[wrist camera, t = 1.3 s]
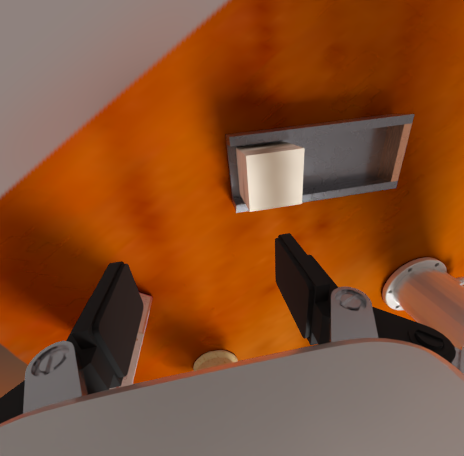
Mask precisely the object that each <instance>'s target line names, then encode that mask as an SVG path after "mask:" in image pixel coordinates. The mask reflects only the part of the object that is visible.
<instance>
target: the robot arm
mask: <svg viewBox="0 0 464 456" xmlns="http://www.w3.org/2000/svg"><path fill="white" fill-rule="evenodd" d="M275 272H276V283H277V285H278V287H279V289H280V292H281V294H282V296H283V298H284V300H285V302H286V304H287V306H288V308H289V310H290V312H291V314H292V316H293V318H294V320H295V322H296V324H297V326H298V328H299V330H300V332H301V335H302V336H303V338H307V339H308V341H309V343H310V345H314V344H319V345H314V346H309V347H304V348H299V349H294V350H290V351H285V352H280V353H275V354H271V355H266V356H261V357H256V358H252V359H247V360H242V361H237V362H233V363H228V364H224V365H219V366H214V367H210V368H205V369H200V370H196V371H191V372H187V373H182V374H177V375H173V376H168V377H164V378H159V379H155V380H150V381H146V382H141V383H137V384H132V385H128V386H123V387H119V386H121V384H122V380H123V377H125V376H127V374H128V370H129V366H130V362H131V358H132V354H133V350H134V346H135V342H136V338H137V334H138V330H139V326H140V322H141V318H142V314H143V309H144V305H143V301H142V299H141V296H140V294H139V291H138V289H137V286H136V283H135V281H134V278H133V276H132V273H131V271H130V268H129V266H128V264H124V263H123V262H116V263H110V264H109V265H108V267H107V269H106V270H105V272H104V274H103V276H102V278H101V280H100V281H99V283H98V285H97V287H96V289H95V291H94V292H93V294H92V296H91V297H90V299H89V301H88V302H87V304H86V306H85V308H84V310H83V312H82V313H81V315H80V317H79V319H78V321H77V322H76V324H75V326H74V328H73V330H72V332H71V333H70V335H69V337H68V339H67V341H61V342H57V343H55V344H52V345H50V346H48V347H47V348H45V349H44V350H42V351H41V352H40V353H39V354H37V355H36V356H35V357H34V358H33V360H32V361H31V362H30V363H29V365H28V367H27V369H26V373H25V380H24V381H23V382H22V383H20V384H19V385H18V386H16V387H15V388H14V389H12V390H11V391H9V392H8V393H7V394H5V395H4V396H3V397H1V398H0V456H464V277H459V278H456V279H455V278H454V277H452V276H451V275H449V274H447V269H446V266H445V265H444V264H443V263H442V262H440V261H439V260H437V259H435V258H431V257H424V258H419V259H416V260H413V261H410V262H408V263H406V264H405V265H403V266H402V267H400V268H399V269H398V270H396V271H395V272H394V273H393V274H392V275H391V276H390V278H389V279H388V280H387V282H386V284H385V285H384V288H383V293H382V296H383V300H384V302H385V303H386V304H387V305H388V306H389V307H390V308H392V309H395V310H405V311H406V312H407V313H408V314H409V315H410V316H411V317H412V318H413V319H414V320H416V321H417V322H418V323H417V322H414V321H411V320H409V319H406V318H403V317H400V316H397V315H394V314H391V313H389V312H386V311H383V310H380V309H377V308H374V307H372V303H371V301H370V299H369V298H368V296H367V295H366V294H364V293H363V292H362V291H360V290H357V289H355V288H351V287H339V288H338V287H337V285H336V284H335V283H334V282H333V281H332V279H331V278H330V277H329V276H328V275H327V273H326V272H325V271H324V270H323V269H322V267H321V266H320V265H319V264H318V262H317V261H316V260H315V259H314V258H313V257H312V256H311V255H307V254H306V253H305V252H304V250H303V249H302V248H301V247H300V245H299V244H298V243H297V242H296V240H295V239H294V238H293V237H292V235H291V234H290V233H288V234H282V235H279V236H278V238H276V239H275ZM115 387H119V388H115ZM110 388H114V389H110ZM109 389H110V390H109Z"/></svg>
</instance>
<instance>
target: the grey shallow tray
mask: <svg viewBox="0 0 464 456" xmlns="http://www.w3.org/2000/svg"><path fill="white" fill-rule="evenodd" d="M413 118H414V114H387V115H379V116H370V117H362V118H354V119H346V120H338V121H330V122H322V123H314V124H306V125H298V126H290V127H282V128H273V129H265V130H257V131H249V132H241V133H233V134H225V136H226V146H227V155H228V165H229V174H230V183H231V193H232V202H233V206H234V208H235V210H236V212H237V213H238V212H245V211H249V209H248V208H247V206H246V204H245V202H244V201H243V199H242V197H241V195H240V190H239V178H238V167H237V155H236V147H243V146H250V145H258V144H266V143H274V142H281V141H284V142H288V143H291V144H294V145H297V146H300V147H303V148H305V151H304V171H303V192H302V203H303V202H309V201H315V200H322V199H328V198H335V197H341V196H348V195H354V194H360V193H367V192H373V191H380V190H386V189H393V188H396V186H397V182H398V178H399V174H400V170H401V166H402V162H403V158H404V154H405V150H406V146H407V142H408V138H409V134H410V130H411V126H412V122H413Z"/></svg>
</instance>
